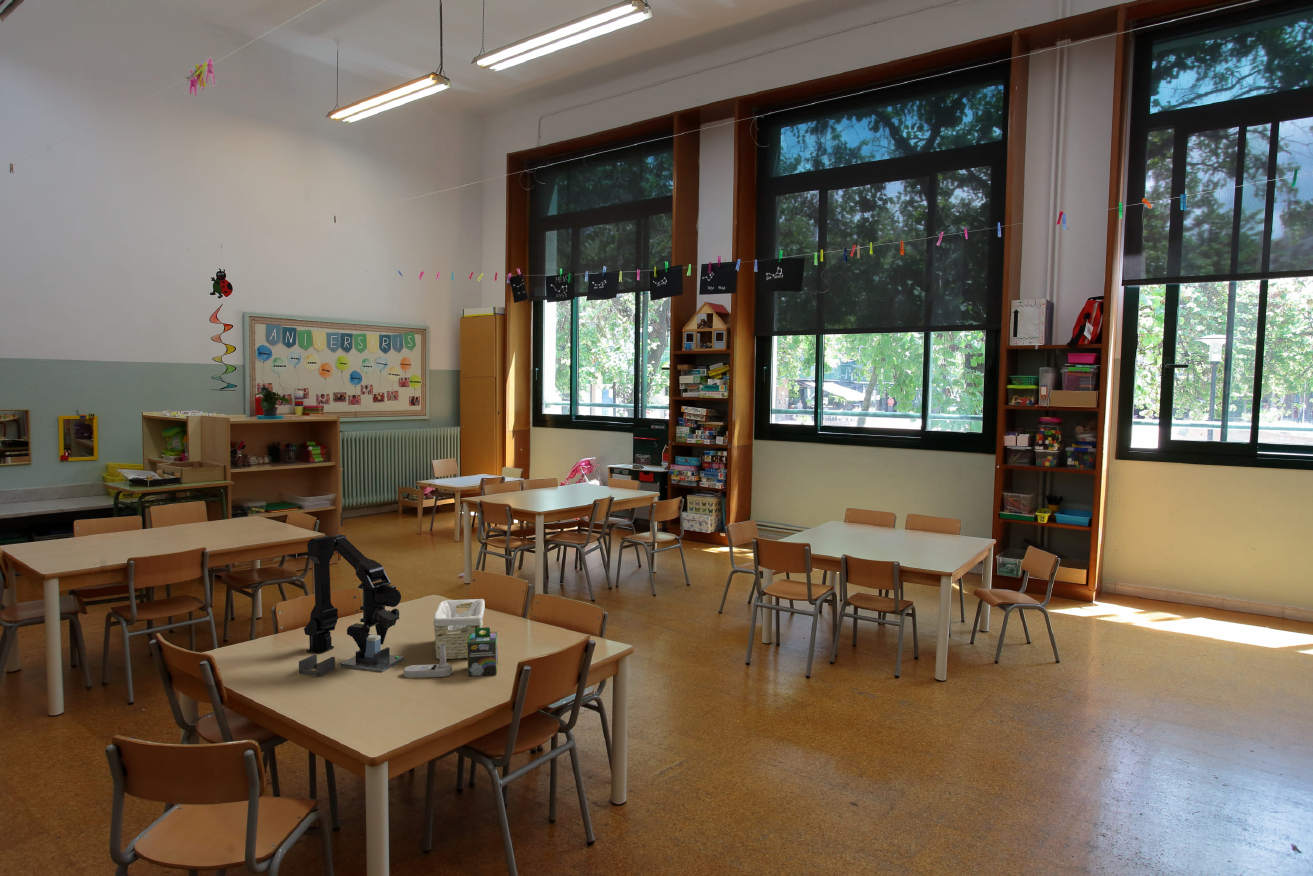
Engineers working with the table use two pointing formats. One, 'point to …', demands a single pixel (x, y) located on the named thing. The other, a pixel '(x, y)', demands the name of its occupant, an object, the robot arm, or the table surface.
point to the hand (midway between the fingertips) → (372, 648)
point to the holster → (316, 666)
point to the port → (373, 661)
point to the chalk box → (482, 653)
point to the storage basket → (457, 626)
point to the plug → (372, 646)
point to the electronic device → (430, 668)
